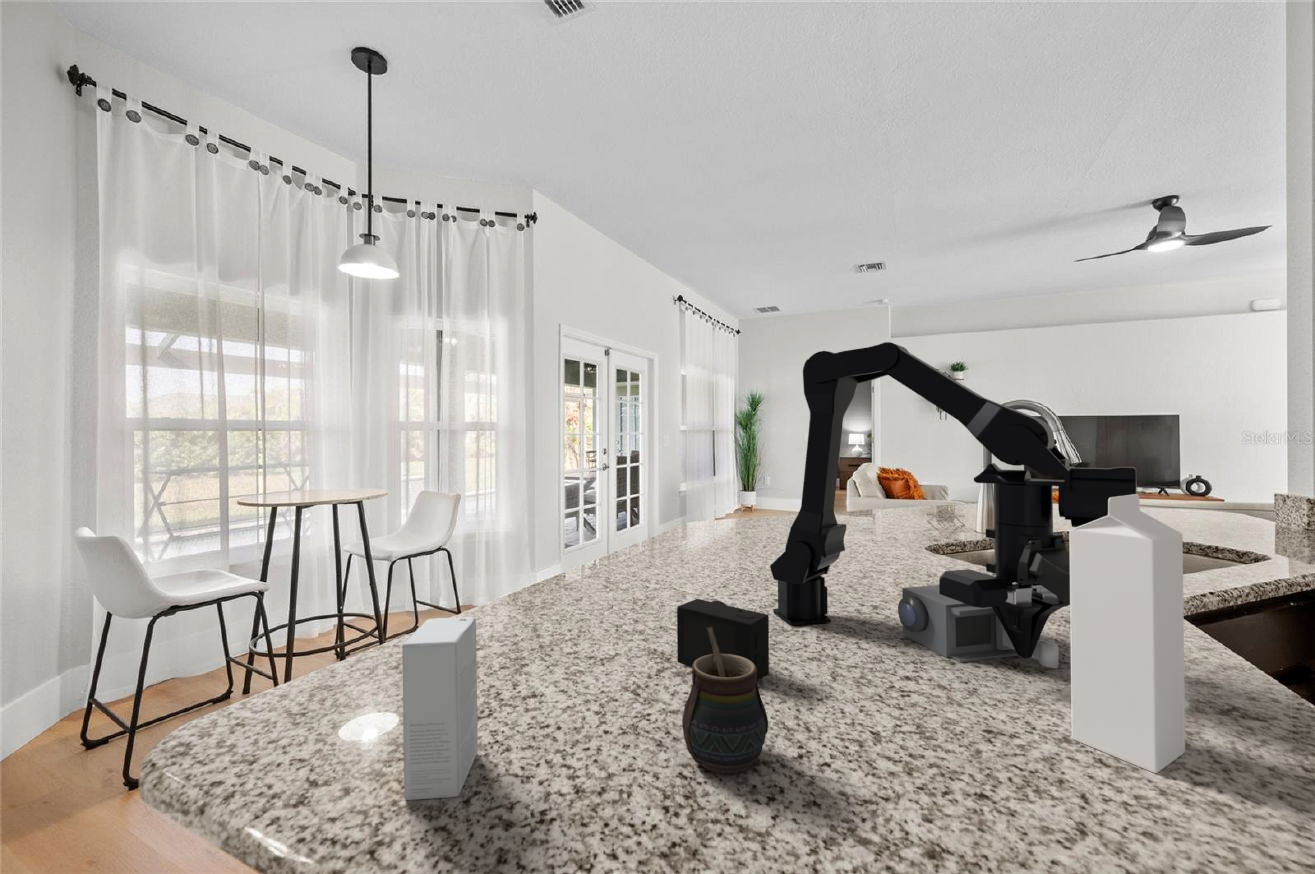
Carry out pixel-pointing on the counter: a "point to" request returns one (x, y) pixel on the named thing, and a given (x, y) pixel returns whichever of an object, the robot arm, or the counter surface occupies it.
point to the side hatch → (1042, 652)
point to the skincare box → (439, 707)
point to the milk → (1128, 636)
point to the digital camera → (722, 633)
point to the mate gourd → (724, 712)
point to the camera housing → (949, 625)
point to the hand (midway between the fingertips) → (1024, 657)
